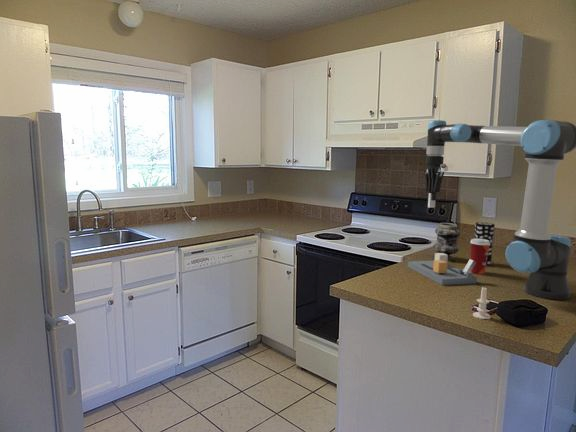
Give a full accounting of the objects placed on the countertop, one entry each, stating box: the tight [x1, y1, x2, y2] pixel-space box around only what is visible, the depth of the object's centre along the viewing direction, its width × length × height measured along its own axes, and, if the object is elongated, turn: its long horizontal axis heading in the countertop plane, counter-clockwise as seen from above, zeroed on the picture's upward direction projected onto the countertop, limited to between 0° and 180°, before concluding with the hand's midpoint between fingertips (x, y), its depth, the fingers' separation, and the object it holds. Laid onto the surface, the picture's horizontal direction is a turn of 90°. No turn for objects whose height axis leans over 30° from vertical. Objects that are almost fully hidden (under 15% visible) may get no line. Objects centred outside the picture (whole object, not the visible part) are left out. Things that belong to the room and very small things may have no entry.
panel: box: [407, 259, 478, 286], centre depth 183 cm, size 28×16×4 cm, turn 13°
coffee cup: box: [469, 238, 490, 275], centre depth 187 cm, size 8×8×15 cm
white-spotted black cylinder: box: [473, 221, 496, 267], centre depth 202 cm, size 8×8×20 cm
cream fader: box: [434, 252, 448, 262], centre depth 190 cm, size 4×4×4 cm
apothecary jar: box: [433, 222, 461, 262], centre depth 211 cm, size 12×12×18 cm
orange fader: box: [433, 259, 449, 273], centre depth 176 cm, size 4×4×4 cm
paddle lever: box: [462, 258, 476, 275], centre depth 174 cm, size 3×2×7 cm, turn 13°
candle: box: [472, 285, 491, 320], centre depth 136 cm, size 5×5×10 cm
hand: (431, 207), depth 191 cm, fingers closed
